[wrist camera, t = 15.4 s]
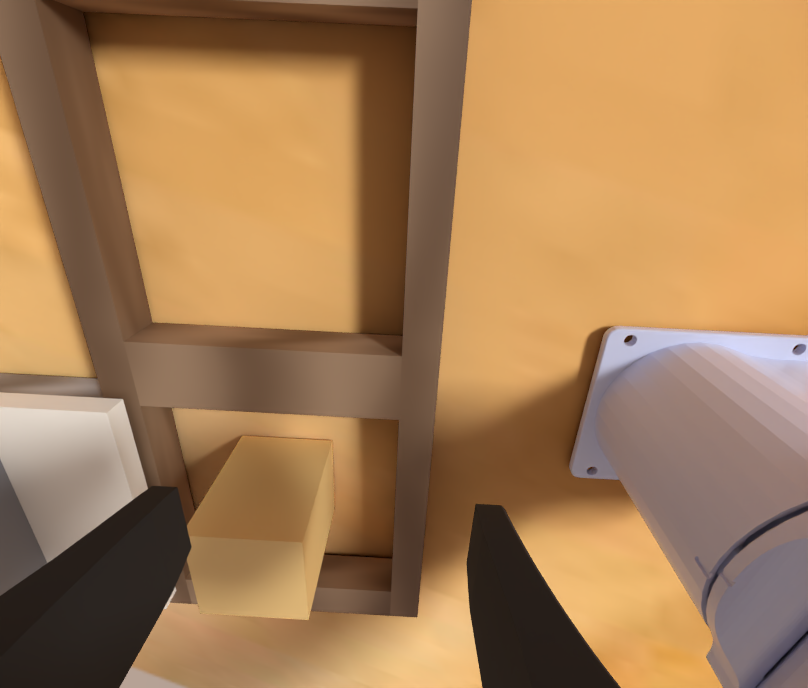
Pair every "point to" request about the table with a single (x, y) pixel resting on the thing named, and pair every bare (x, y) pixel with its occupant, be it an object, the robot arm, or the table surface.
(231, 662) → the table surface
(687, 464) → the robot arm
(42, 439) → the slide cover
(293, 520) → the ochre block
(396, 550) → the brown flat frame
